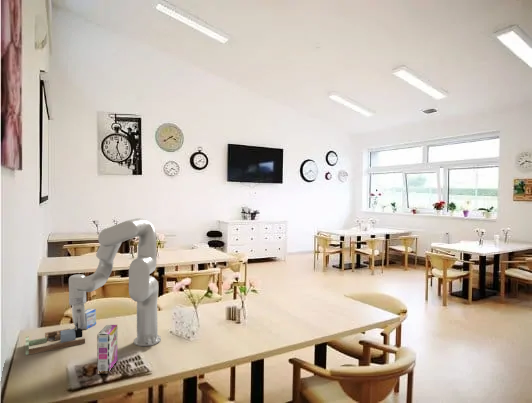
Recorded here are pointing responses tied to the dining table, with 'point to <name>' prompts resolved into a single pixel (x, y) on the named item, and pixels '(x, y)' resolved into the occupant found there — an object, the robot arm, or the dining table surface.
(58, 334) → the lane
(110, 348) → the candy bar box
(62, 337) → the block
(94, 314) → the medicine box
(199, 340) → the dining table surface
